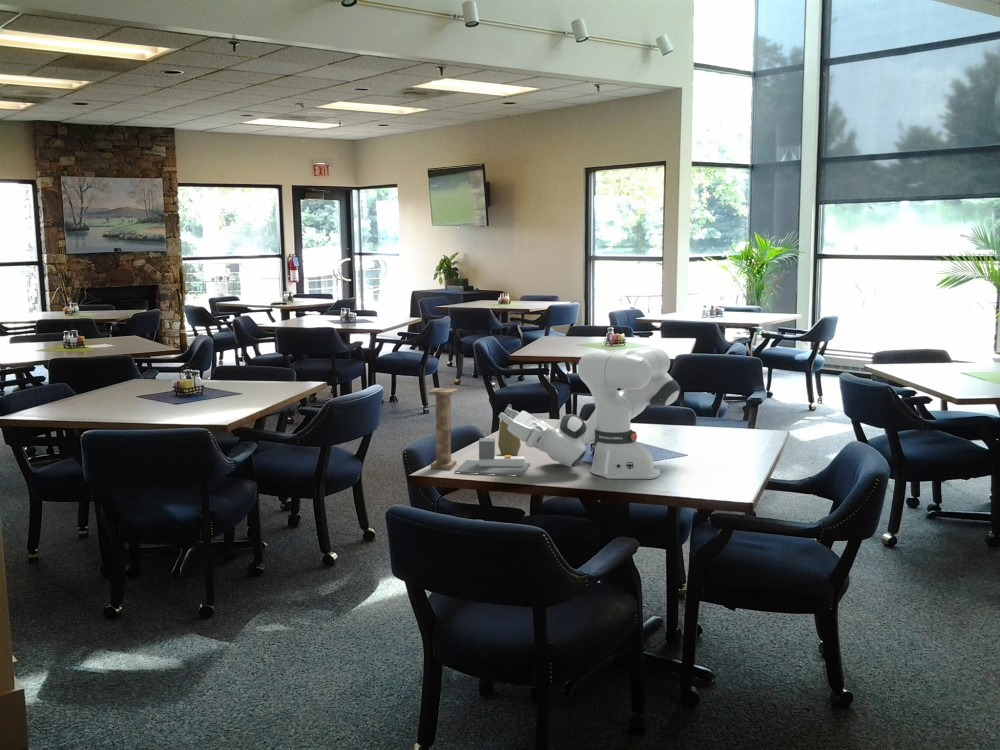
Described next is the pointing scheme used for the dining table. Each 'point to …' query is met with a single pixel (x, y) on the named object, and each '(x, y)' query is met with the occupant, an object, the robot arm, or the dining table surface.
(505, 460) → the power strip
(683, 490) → the dining table surface
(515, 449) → the squeeze bottle
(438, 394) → the walnut stand
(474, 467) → the grey flat rectangular slab
